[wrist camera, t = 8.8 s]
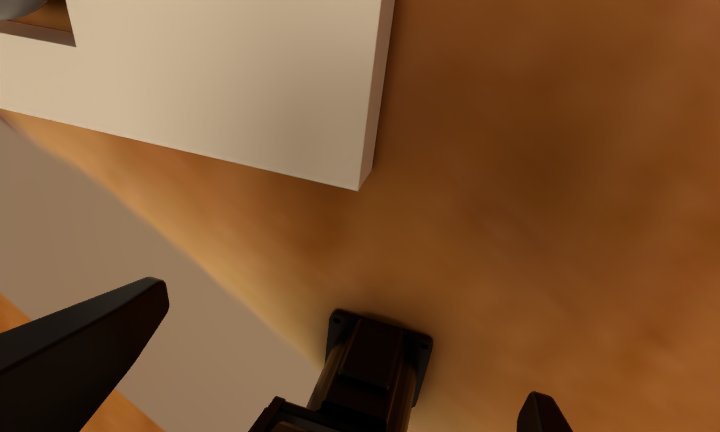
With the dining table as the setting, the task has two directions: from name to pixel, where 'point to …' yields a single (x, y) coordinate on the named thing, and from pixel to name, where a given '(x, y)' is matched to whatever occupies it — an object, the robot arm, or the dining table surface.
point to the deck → (214, 78)
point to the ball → (18, 8)
